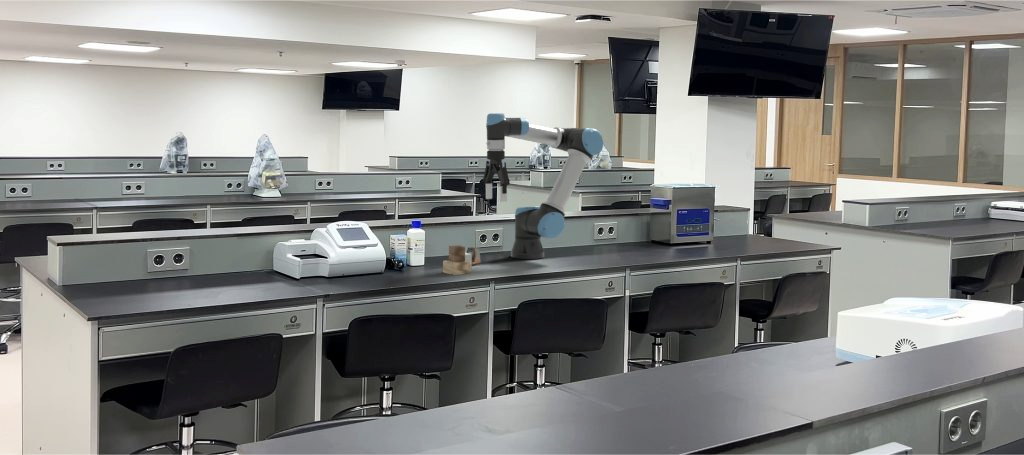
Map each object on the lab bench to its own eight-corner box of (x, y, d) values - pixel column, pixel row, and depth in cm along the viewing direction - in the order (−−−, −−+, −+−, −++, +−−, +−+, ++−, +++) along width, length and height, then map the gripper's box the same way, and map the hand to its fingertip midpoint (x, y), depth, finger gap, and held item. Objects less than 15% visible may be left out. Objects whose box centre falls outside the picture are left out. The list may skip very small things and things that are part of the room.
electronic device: (463, 265, 399) (463, 248, 398) (471, 262, 408) (471, 245, 407) (472, 266, 398) (472, 248, 397) (480, 263, 407) (481, 246, 406)
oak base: (458, 271, 386) (458, 259, 385) (470, 273, 380) (470, 261, 379) (443, 272, 381) (443, 260, 380) (454, 275, 375) (454, 263, 374)
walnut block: (460, 259, 384) (460, 245, 383) (464, 261, 379) (465, 246, 379) (448, 260, 381) (448, 245, 381) (453, 262, 377) (453, 247, 376)
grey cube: (465, 266, 397) (465, 252, 397) (471, 268, 392) (471, 254, 391) (452, 267, 395) (452, 253, 394) (458, 269, 389) (458, 255, 389)
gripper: (475, 149, 403) (475, 198, 406) (501, 151, 381) (501, 203, 384) (490, 148, 407) (490, 197, 410) (517, 151, 385) (517, 202, 388)
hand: (496, 200), depth 397 cm, fingers open, 13 cm apart
